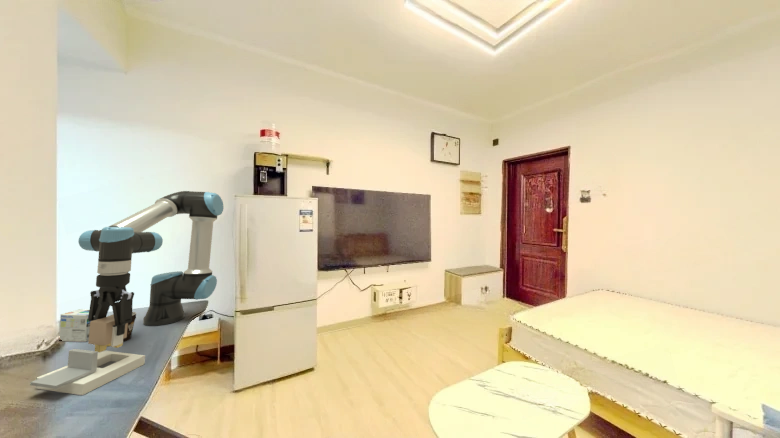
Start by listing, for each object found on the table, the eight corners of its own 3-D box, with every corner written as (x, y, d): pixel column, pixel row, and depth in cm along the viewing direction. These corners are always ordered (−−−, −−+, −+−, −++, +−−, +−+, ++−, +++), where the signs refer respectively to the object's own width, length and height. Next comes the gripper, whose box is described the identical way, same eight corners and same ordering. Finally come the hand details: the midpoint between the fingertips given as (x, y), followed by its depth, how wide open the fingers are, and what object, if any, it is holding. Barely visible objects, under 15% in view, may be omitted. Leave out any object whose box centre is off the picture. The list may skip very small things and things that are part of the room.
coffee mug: (113, 346, 96) (115, 320, 97) (97, 343, 98) (99, 317, 98) (148, 334, 108) (150, 310, 108) (133, 331, 109) (134, 308, 110)
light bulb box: (104, 335, 105) (106, 309, 106) (85, 342, 99) (87, 315, 99) (77, 334, 105) (80, 308, 105) (57, 341, 98) (59, 314, 98)
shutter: (72, 367, 77) (74, 348, 77) (96, 370, 76) (97, 351, 76) (30, 385, 68) (32, 363, 69) (56, 388, 67) (57, 367, 68)
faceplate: (104, 359, 88) (105, 350, 88) (144, 364, 86) (145, 355, 86) (35, 388, 72) (36, 377, 72) (82, 395, 70) (83, 384, 70)
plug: (110, 343, 85) (113, 315, 85) (126, 344, 84) (128, 316, 85) (87, 351, 79) (90, 321, 80) (103, 353, 78) (106, 323, 79)
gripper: (74, 273, 80) (67, 346, 79) (125, 277, 78) (119, 352, 77) (103, 269, 88) (97, 336, 87) (151, 273, 85) (145, 341, 85)
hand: (108, 343), depth 82 cm, fingers closed on plug, 6 cm apart
